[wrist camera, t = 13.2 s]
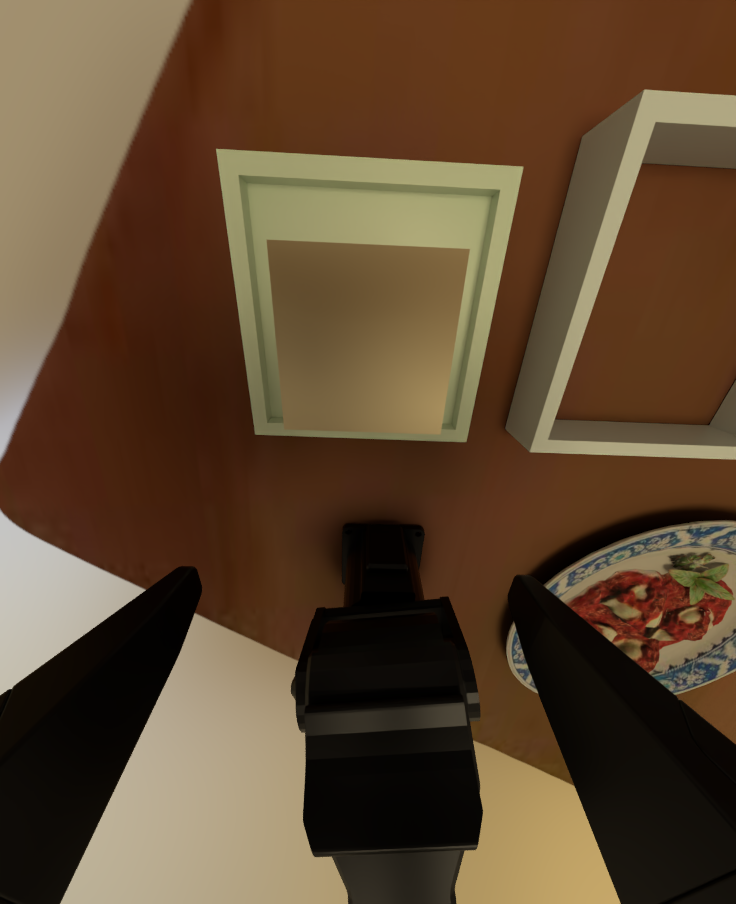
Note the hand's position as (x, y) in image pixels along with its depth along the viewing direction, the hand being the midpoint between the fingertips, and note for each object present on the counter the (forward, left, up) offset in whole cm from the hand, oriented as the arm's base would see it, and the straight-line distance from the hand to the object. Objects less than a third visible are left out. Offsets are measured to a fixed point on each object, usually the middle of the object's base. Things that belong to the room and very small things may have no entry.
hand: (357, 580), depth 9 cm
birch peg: (+6, 0, -12) cm, 13 cm away
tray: (+6, 0, -13) cm, 14 cm away
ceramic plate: (-19, -27, -14) cm, 36 cm away
